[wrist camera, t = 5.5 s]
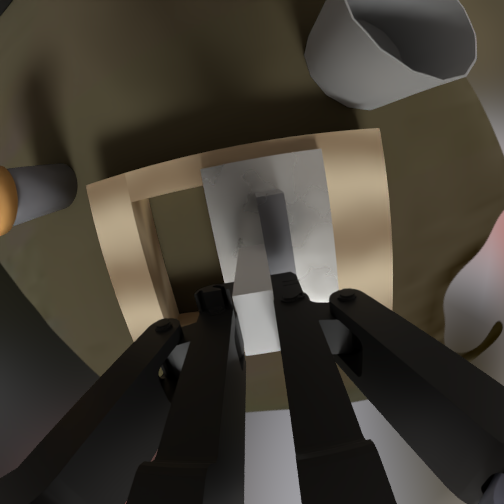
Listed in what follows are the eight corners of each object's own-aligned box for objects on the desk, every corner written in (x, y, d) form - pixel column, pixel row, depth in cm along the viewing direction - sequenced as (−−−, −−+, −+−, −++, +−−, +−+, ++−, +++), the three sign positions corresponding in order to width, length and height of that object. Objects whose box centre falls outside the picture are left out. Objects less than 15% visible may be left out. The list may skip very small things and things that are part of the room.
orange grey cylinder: (38, 169, 20) (-44, 182, 11) (74, 153, 20) (-10, 156, 11) (47, 217, 22) (-31, 249, 12) (85, 205, 21) (4, 234, 12)
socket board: (107, 181, 21) (85, 185, 18) (360, 132, 20) (379, 128, 17) (153, 336, 25) (141, 359, 21) (375, 300, 24) (391, 319, 21)
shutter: (202, 169, 17) (191, 169, 14) (318, 149, 17) (333, 145, 14) (239, 339, 21) (238, 368, 17) (338, 321, 20) (351, 347, 17)
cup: (372, 12, 17) (426, -44, 7) (417, 94, 19) (496, 70, 9) (285, 33, 18) (307, -40, 8) (334, 123, 20) (395, 96, 10)
